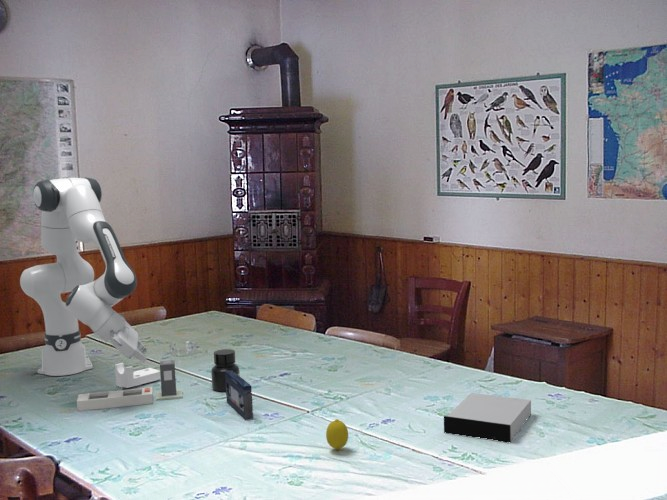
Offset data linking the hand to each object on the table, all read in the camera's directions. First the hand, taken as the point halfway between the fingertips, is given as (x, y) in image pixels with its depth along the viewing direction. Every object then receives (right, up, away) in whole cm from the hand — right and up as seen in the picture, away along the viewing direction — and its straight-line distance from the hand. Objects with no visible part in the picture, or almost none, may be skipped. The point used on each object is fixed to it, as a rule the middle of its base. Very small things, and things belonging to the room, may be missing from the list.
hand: (145, 356), depth 238 cm
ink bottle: (+24, -12, +8) cm, 28 cm away
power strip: (-8, -14, -4) cm, 17 cm away
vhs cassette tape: (+31, -14, -14) cm, 37 cm away
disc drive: (+101, -15, -31) cm, 107 cm away
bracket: (-6, -12, +16) cm, 21 cm away
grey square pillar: (+7, -12, +2) cm, 14 cm away
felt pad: (+7, -13, +2) cm, 15 cm away
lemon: (+60, -17, -46) cm, 78 cm away
